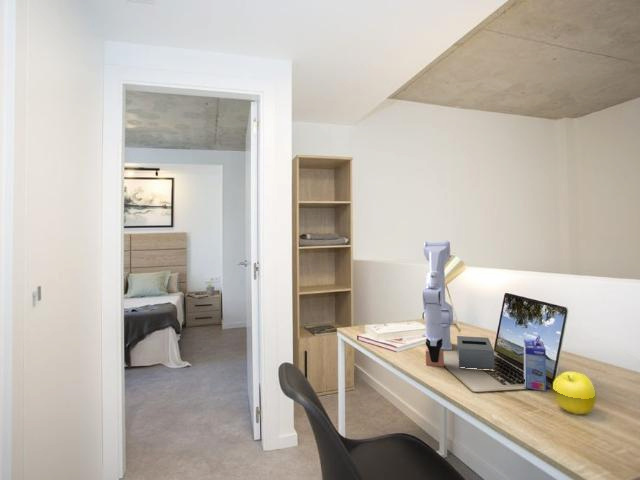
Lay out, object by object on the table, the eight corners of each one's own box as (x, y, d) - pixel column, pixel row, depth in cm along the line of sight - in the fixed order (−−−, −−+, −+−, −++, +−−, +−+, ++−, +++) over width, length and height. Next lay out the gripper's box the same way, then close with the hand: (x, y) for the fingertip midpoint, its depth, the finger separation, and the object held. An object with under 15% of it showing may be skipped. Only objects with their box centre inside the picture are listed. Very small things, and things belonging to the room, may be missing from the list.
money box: (457, 354, 135) (457, 335, 135) (489, 356, 131) (488, 337, 131) (459, 368, 120) (458, 348, 120) (494, 371, 116) (494, 350, 116)
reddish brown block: (426, 362, 126) (425, 348, 126) (443, 364, 124) (443, 350, 124) (426, 365, 124) (425, 351, 124) (443, 366, 122) (443, 352, 122)
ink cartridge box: (547, 392, 99) (545, 341, 100) (525, 389, 102) (523, 339, 102) (544, 379, 108) (542, 333, 108) (523, 377, 111) (521, 331, 111)
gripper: (423, 317, 133) (424, 353, 132) (420, 326, 119) (421, 366, 119) (442, 318, 130) (443, 354, 130) (442, 327, 117) (443, 368, 116)
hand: (434, 360), depth 124 cm, fingers closed on reddish brown block, 2 cm apart
